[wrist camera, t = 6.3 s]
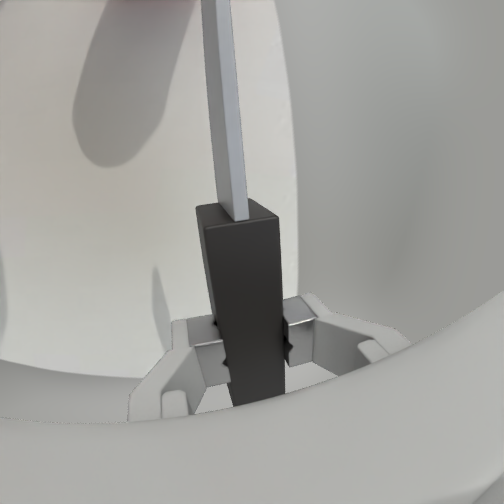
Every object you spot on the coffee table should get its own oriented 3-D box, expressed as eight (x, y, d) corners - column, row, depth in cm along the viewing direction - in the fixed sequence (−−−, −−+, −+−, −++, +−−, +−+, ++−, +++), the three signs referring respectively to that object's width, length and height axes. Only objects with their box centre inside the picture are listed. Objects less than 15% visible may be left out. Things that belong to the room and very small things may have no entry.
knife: (265, 366, 13) (286, 411, 10) (224, 375, 13) (238, 423, 10) (231, -20, 7) (250, -63, 4) (178, -18, 6) (183, -63, 4)
